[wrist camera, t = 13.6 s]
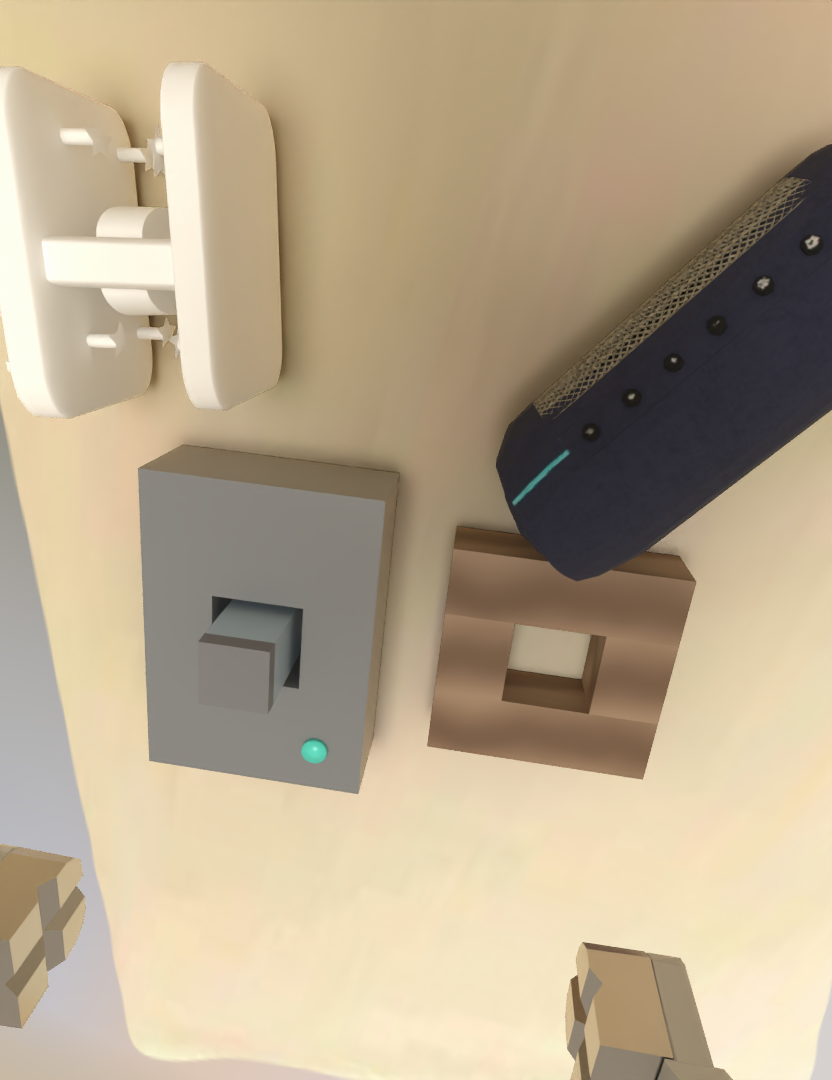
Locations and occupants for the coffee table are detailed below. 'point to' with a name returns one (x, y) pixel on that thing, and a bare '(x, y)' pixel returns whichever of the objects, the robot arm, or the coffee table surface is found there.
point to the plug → (248, 655)
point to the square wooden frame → (543, 700)
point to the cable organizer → (137, 244)
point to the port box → (272, 578)
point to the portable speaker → (683, 388)
